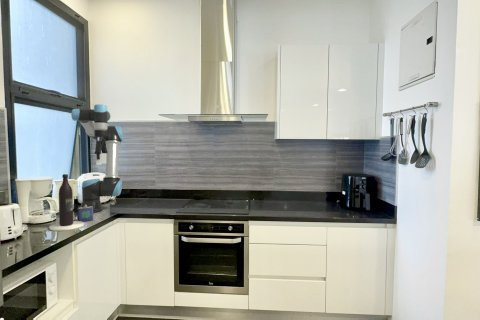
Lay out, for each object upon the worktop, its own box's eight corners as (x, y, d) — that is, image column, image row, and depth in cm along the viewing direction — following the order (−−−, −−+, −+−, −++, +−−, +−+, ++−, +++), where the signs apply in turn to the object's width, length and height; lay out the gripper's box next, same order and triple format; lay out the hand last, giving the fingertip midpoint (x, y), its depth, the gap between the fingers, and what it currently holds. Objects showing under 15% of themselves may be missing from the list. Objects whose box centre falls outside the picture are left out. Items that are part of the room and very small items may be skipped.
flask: (92, 219, 198) (92, 203, 198) (94, 220, 196) (93, 204, 196) (77, 222, 192) (76, 205, 191) (78, 223, 190) (78, 206, 189)
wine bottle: (66, 226, 176) (65, 175, 175) (56, 225, 178) (55, 174, 177) (75, 223, 183) (74, 174, 181) (66, 222, 185) (65, 173, 183)
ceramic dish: (56, 223, 188) (56, 221, 188) (87, 222, 191) (87, 220, 191) (43, 231, 170) (43, 229, 170) (78, 230, 174) (78, 228, 174)
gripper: (102, 129, 177) (103, 165, 178) (111, 130, 201) (111, 162, 202) (88, 128, 175) (89, 165, 176) (99, 130, 200) (99, 162, 201)
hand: (101, 164), depth 189 cm, fingers open, 13 cm apart
